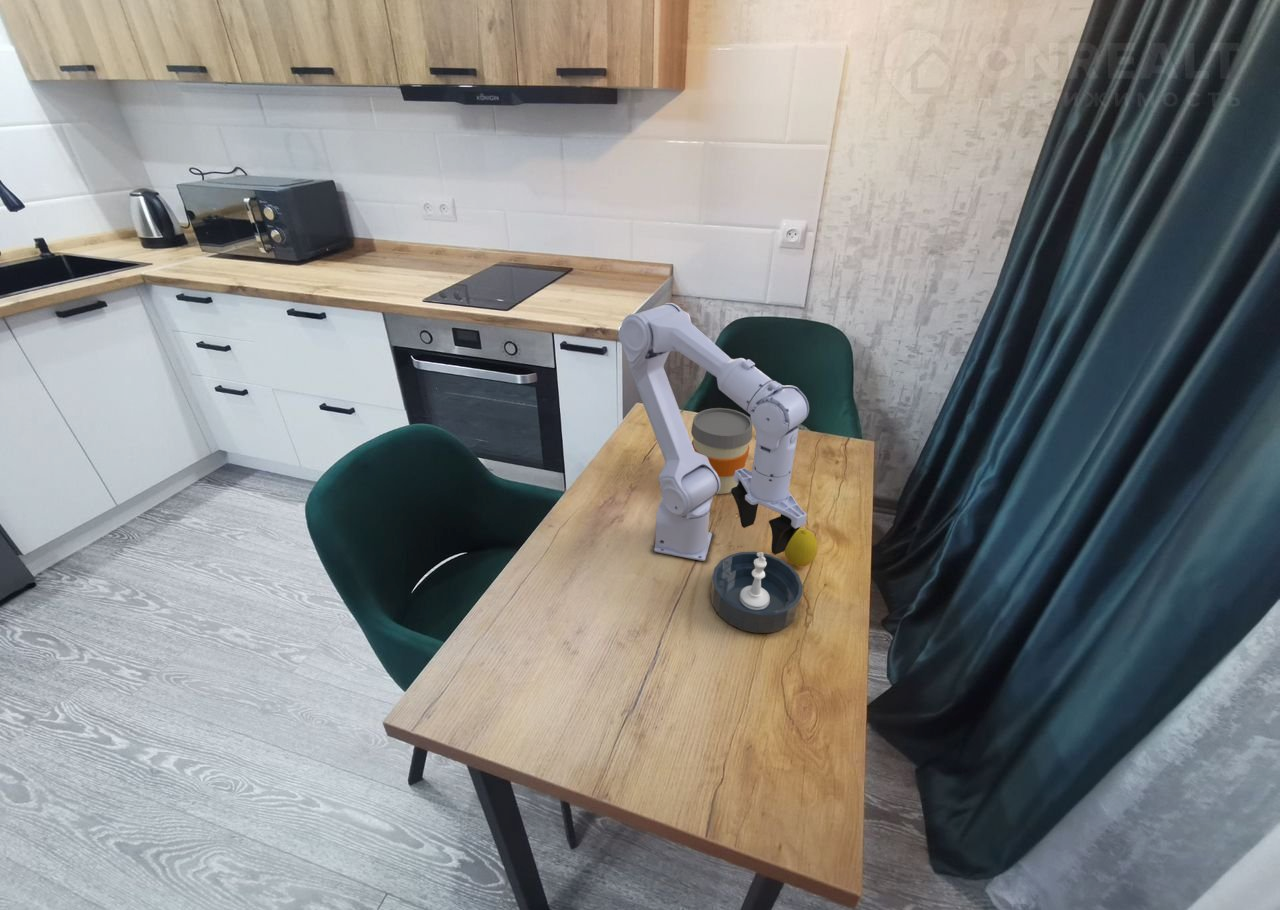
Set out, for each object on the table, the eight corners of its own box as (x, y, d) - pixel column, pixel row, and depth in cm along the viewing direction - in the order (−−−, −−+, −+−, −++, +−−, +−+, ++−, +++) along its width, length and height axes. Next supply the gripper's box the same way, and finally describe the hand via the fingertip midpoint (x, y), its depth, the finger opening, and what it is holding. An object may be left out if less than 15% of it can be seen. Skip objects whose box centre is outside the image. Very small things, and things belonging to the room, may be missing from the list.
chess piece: (751, 614, 90) (758, 567, 85) (733, 594, 94) (739, 548, 88) (775, 603, 92) (784, 557, 87) (757, 584, 96) (764, 538, 90)
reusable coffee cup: (754, 477, 125) (763, 417, 117) (731, 506, 115) (738, 442, 108) (704, 460, 130) (708, 402, 122) (677, 486, 121) (680, 425, 113)
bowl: (703, 624, 89) (705, 603, 87) (718, 564, 101) (720, 544, 98) (796, 644, 86) (800, 623, 83) (799, 580, 97) (803, 560, 95)
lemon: (814, 578, 98) (822, 542, 94) (781, 573, 99) (788, 538, 95) (812, 556, 103) (820, 522, 98) (781, 552, 103) (787, 518, 99)
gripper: (721, 451, 88) (715, 521, 95) (785, 499, 77) (773, 573, 84) (757, 440, 91) (748, 508, 98) (823, 485, 80) (808, 558, 87)
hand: (762, 538), depth 91 cm, fingers open, 7 cm apart
